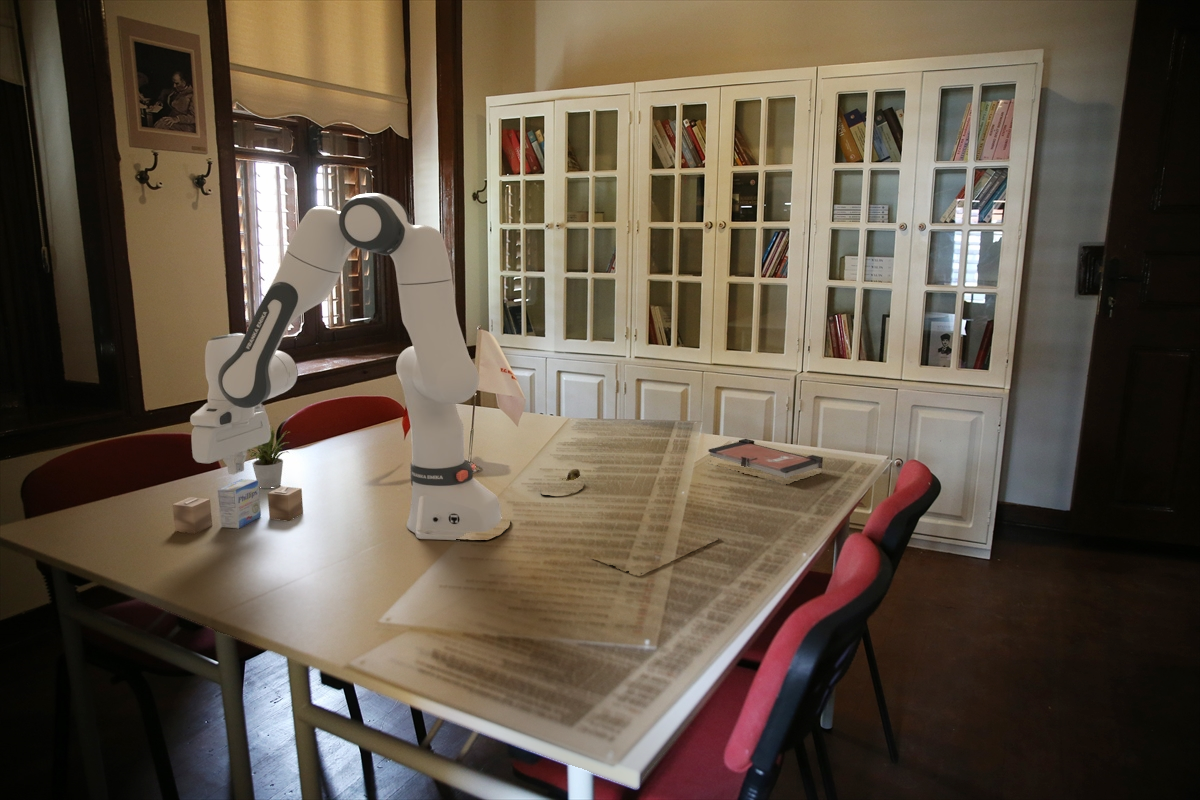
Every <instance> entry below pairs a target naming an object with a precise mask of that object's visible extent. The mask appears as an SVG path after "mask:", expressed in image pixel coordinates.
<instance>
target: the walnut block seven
mask: <svg viewBox="0 0 1200 800" xmlns="http://www.w3.org/2000/svg"><path fill="white" fill-rule="evenodd" d="M267 499H268V514H269V516H268V517H269V519H270V518H271V519H270V520H275V519H280V520H279V521H284V520H287V521H286V522H290V521H293V520H294V519H296V518H298V517H300V516H302V515H303V514H304V506H303V491H302V488H299V487H293V486H292V487H291V486H279V487H277V488H275V489H273V490H271V491H270V492H267ZM301 514H302V515H301ZM299 515H300V516H299ZM297 516H298V517H297ZM293 518H294V519H293Z"/></svg>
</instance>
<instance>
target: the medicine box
mask: <svg viewBox="0 0 1200 800" xmlns="http://www.w3.org/2000/svg"><path fill="white" fill-rule="evenodd" d="M217 497H218V507H219V519H220V526H221V528H226V529H238V530H239V528H240V529H241V528H243V527H245V526H247V525H248V523H249V524H250V523H252V522H254V521H255V519H256V520H257V519H259V518H261V517H262V515H261V513H262V512H261V501H260V500H261V499H260V488H259V486H258V481H257V480H256V479H249V478H248V479H247V478H244V479H239V480H236V481H235V482H232V483H230V484H228V485H226V486H223V487H222V488H219V489H217ZM253 520H254V521H253ZM246 524H247V525H246ZM244 525H245V526H244Z"/></svg>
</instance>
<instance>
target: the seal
mask: <svg viewBox="0 0 1200 800" xmlns="http://www.w3.org/2000/svg"><path fill="white" fill-rule="evenodd" d="M579 476H580V477H581V472H580V470H579V469H578V468H573V469H571V470H568V474H567V477H566V478H567V479H566V478H565V479H566V481H569V480H574V479H576V478H578V477H579ZM561 479H562V480H563V479H564V478H561Z"/></svg>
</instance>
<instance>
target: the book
mask: <svg viewBox="0 0 1200 800" xmlns="http://www.w3.org/2000/svg"><path fill="white" fill-rule="evenodd" d="M707 451H708V452H709V457H710V456H713V457H717V458H720V459H724V460H728V461H732V462H735V463H738V464H741V466H744V467H747V466H748V467H751V468H754V469H757V470H761V471H763V472H766V473H770V474H773V475H777V476H780V477H784V478H787V477H790V476H793V475H797V474H800V473H804V472H807V471H810V470H813V469H817V468H822V469H823V458H824V457H823V456H819V455H815V454H811V455H808V456H804V455H799V454H795V453H792V452H788V451H783V450H779V449H775V448H773V447H772V448H771V447H768V446H763V445H760V444H756V443H755V440H752V439H748V438H743V439H739V440H738V441H737V442H733V443H729V444H725V445H720V446H717V447H713V448H709V449H708V450H707Z"/></svg>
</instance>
